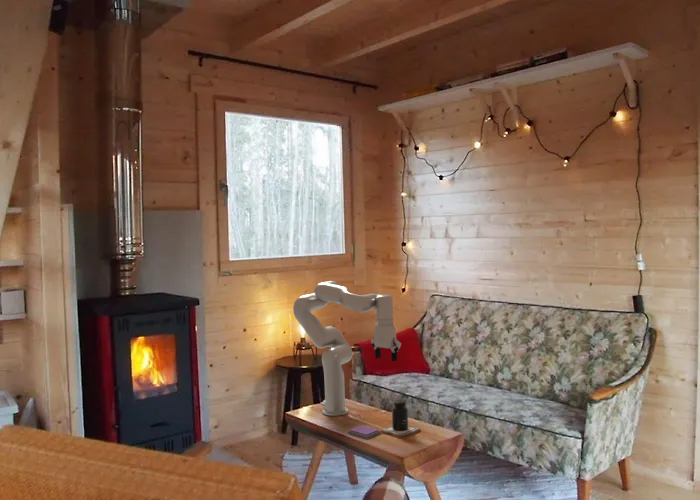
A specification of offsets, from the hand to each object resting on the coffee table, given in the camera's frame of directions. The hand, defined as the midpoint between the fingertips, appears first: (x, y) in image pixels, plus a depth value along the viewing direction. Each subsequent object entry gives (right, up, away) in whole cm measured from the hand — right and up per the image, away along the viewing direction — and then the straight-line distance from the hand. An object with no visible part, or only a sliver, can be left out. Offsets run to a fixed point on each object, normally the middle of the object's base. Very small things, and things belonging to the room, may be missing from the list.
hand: (386, 359), depth 284 cm
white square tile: (+6, -29, -14) cm, 33 cm away
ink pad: (-10, -29, -15) cm, 34 cm away
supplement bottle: (+5, -28, -14) cm, 32 cm away
